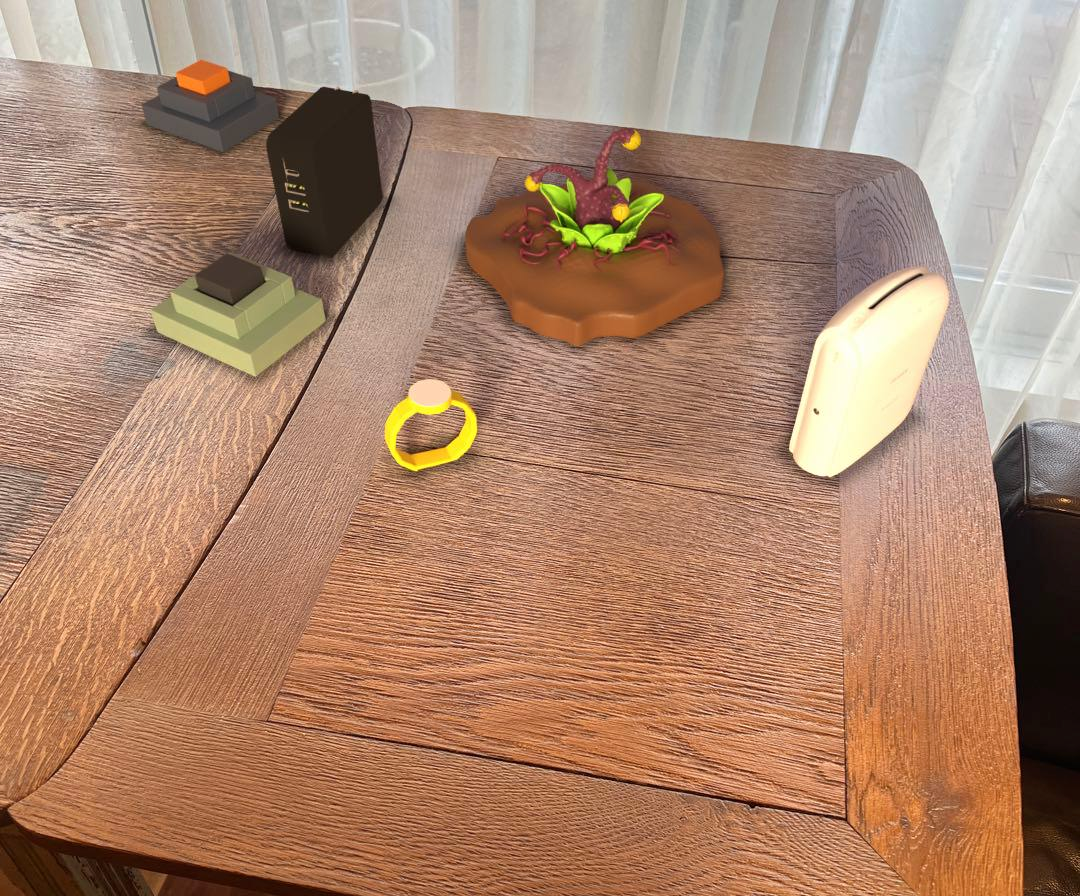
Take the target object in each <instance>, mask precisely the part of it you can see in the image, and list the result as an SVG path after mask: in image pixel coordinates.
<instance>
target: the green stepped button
mask: <svg viewBox="0 0 1080 896" xmlns="http://www.w3.org/2000/svg"><path fill="white" fill-rule="evenodd" d="M227 253H228V254H230V255H233V256H235V257H238V258H240V259H242V260H245V261H247V262H250V263H252V264H255V265H257V266H260V267H261V270H262V274H263V279H264V284H263V285H261V286H260V287H258V288H257V289H256V290H254V291H253V292H252V293H250V294H249V295H247V296H246V297H245V298H243V299H242V300H241V301H239V302H238V303H236V304H235V305H234V306H230V305H228V304H226V303H224V302H221V301H219V300H217V299H214V298H212V297H210V296H207V295H205V294H203V293H200V292H199V289H198V285H197V282H196V278H195V275H196V274H197V273H199V272H200V271H198V272H197V273H196V274H194V275H192V276H191V277H189V278H188V279H186V280H185V281H183V282H182V283H181V284H180V285H178V286H177V287H175V288H174V289H172V290H171V291H170V292H169V294H170V296H169V297H167V298H166V299H164V300H162V301H161V302H160V303H158V304H157V305H155V306H154V307H152V308H151V309H150V310H149V311H150V315H151V317H152V320H153V323H154V326H155V329H156V332H157V333H158V334H161V335H162V336H165V337H167V338H169V339H172V340H174V341H176V342H178V343H181V344H183V345H184V346H187V347H189V348H191V349H194V350H195V351H198V352H200V353H202V354H204V355H207V356H209V357H210V358H213V359H216V360H217V361H220V362H222V363H224V364H226V365H228V366H231V367H233V368H235V369H237V370H239V371H242V372H244V373H246V374H248V375H250V376H252V377H255V378H256V377H257V376H259V375H260V374H261V373H263V372H264V371H265V370H267V368H269V367H270V366H271V365H273V364H274V363H275V362H276V361H277V360H279V359H280V358H282V357H283V356H284V355H285V354H286V353H287V352H289V351H290V350H291V349H293V348H294V347H295V346H297V345H298V344H299V343H300V342H302V341H303V340H305V338H306V337H308V336H309V335H310V334H312V333H313V332H314V331H315V330H317V329H318V328H319V327H320V326H322V325H323V324H324V323H325V322H326V321H327V320H326V314H325V309H324V302H323V298H320V297H318V296H316V295H313V294H310V293H308V292H306V291H304V290H301V289H298V288H296V287H295V286H294V281H293V277H292V276H291V275H288V274H286V273H284V272H281V271H278V270H276V269H273V268H272V267H268V266H267V265H265V264H261V263H258V262H256V261H254V260H252V259H250V258H247V257H244V256H242V255H239V254H236V253H234V252H232V251H228V252H227ZM218 259H219V258H217V259H216V260H218ZM216 260H215V261H216ZM215 261H213V262H215Z"/></svg>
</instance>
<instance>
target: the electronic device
mask: <svg viewBox="0 0 1080 896" xmlns="http://www.w3.org/2000/svg"><path fill="white" fill-rule="evenodd" d="M374 121H375V120H374V112H373V106H372V100H371V96H370V95H369V94H367V93H362V92H359V90H358V89H354V90H353V91H351V90H344V89H341V87H340V86H336V87H335V88H333V87H330V86H329V87H328V86H321V87H320V88H318V89H317V90H316V91H315V92H313V94H311V95H310V96H309V97H308V98H307V99H306V100H305V101H304V102H303V103H301V104H300V105H299V106H298V107H297V108H296V109H295V110H294V111H293V112H292V113H291V114H290V115H288V116H287V117H286V118H285V119H284V120H283V121H282V122H280V123H279V124H278V125H277V126H276V127H275V128H274V129H273V130H272V131H270V132H269V134H268V136H267V137H266V142H265V143H266V144H265V146H266V153H267V158H268V164H269V169H270V174H271V179H272V183H273V188H274V193H275V198H276V202H277V208H278V212H279V218H280V223H281V226H282V231H283V236H284V237H283V238H284V242H285V244H286V247H287V248H289V249H292V250H295V251H296V250H297V251H302V252H305V253H311V254H316V255H320V256H325V257H329V258H334V257H335V256H336V255H337V254H338V253H339V252H340V251H341V249H342V248H343V247H344V245H346V244H347V243H348V241H350V239H351V238H353V236H354V235H355V233H357V231H358V230H359V229H360V228H361V227H362V226H363V224H364V223H365V222H366V221H367V220H368V219H369V218H370V216H371V215H372V214H373V213H374V212H375V211H376V210H377V209H378V207H379V206H380V205H381V203H382V200H383V187H382V179H381V172H380V163H379V162H380V161H379V155H378V147H377V139H376V129H375V122H374Z"/></svg>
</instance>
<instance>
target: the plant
mask: <svg viewBox="0 0 1080 896" xmlns="http://www.w3.org/2000/svg"><path fill="white" fill-rule="evenodd" d="M616 141H620V142H621V145H622V146H623V148H625V149H627V150H628V151H634V150H637V149H638V148H639V146H641V144H642V137H641V134H640V132H638V131H637V130H636V129H634V128H631V127H629V128H627V127H625V128H620V129H618V130H617V131H616V130H615V131H612V132H611V135H610V136H609V137H608V138H607V140H605V141H604V142H603V145H602V146H603V147H602V149H601V150H600V151H599V153H598V157H597V158H596V160H595V167H594V172H593V177H584V176H583V175H581V173H580V172H578V169H574V168H573V166H568V165H566V164H559V163H556V164H554V163H551V164H549V165H545V166H544V167H541V168H539V170H535V171H533V172H531V173H529V174H528V175H527V176H526V178H525V180H524V186H525V189H526V191H525V193H523V194H520V195H515V196H508V197H501V198H499V199H497V201H496V202H495V206H494V209H493V211H492V212H490V213H488V214H486V215H480V216H474V217H472V218H470V221H469V222H468V225H467V226H466V229H465V234H464V241H465V242H464V243H465V256H466V261H467V264H468V265H469V267H470V268H471V269H472V271H474V272H475V273H476V274H477V275H478V276H480V277H481V278H482V279H484V281H486V282H488V283H489V284H490V285H491V286H492V287H493V289H495V291H496V292H497V293H498V295H499V296H500V297H501V298H502V300H503V301H504V303H505V304H506V306H507V307H508V308H509V312H510V317H511V319H512V320H513V321H514V322H515V323H516V324H519V325H522V326H525V327H527V328H528V329H529V330H531V331H533V332H535V333H537V334H539V335H541V336H543V337H547V338H553V339H558V340H560V341H563V342H565V343H568V344H570V345H572V346H575V347H579V346H582V345H584V344H585V343H587V342H589V341H591V340H594V339H597V338H601V337H623V338H629V339H634V338H639V337H641V336H645V335H647V334H649V333H651V332H653V331H654V330H656V329H658V328H660V327H662V326H665V325H666V324H669V323H670V322H673V321H674V320H676V319H678V318H679V317H681V316H683V315H686V314H687V313H689V312H691V311H692V312H693V311H695V310H696V309H699V308H701V307H704V306H705V305H708V304H709V303H712V302H714V301H715V300H717V299H719V298H720V297H721V295H722V291H723V285H724V280H725V279H724V278H725V269H724V267H723V262H722V258H721V249H722V242H721V239H720V236H719V234H718V232H717V230H716V229H715V227H714V226H713V224H711V223H710V222H709V220H708V219H706V218H705V216H704V215H703V214H702V213H701V212H700V211H699V210H698V208H697V207H696V206H695V205H694V204H692V203H691V202H688V201H684V200H682V199H678V198H676V197H673V196H671V195H669V194H668V193H667V192H665V191H664V190H663V189H661V188H660V187H658V186H656V185H655V184H653V183H651V182H649V181H648V180H647V179H645V178H629V177H625V178H623V177H621V178H620V177H617V174H616V173H615V171H614V170H613V169H612V168H610V167H609V166H608V165H609V163H610V159H609V158H610V155H611V152H612V149H613V146H614V144H615V143H616ZM552 172H553V173H560V174H561V175H565V177H567V180H566V183H564V184H561V185H559V186H558V185H555V184H550V183H543V177H544V175H545V174H547V173H548V174H551V173H552Z"/></svg>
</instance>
